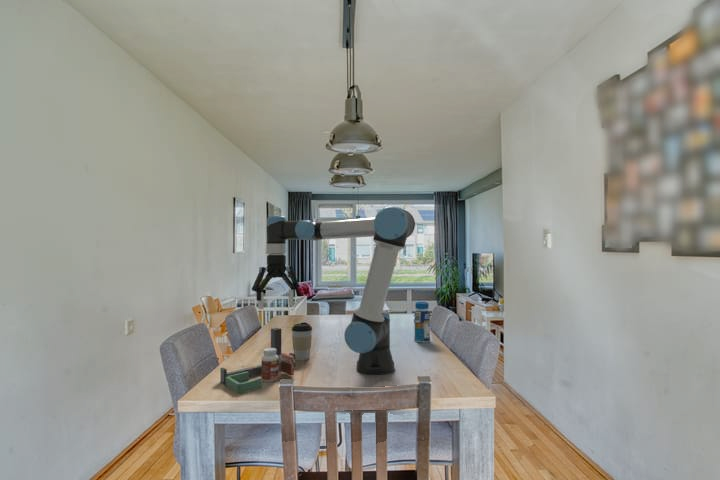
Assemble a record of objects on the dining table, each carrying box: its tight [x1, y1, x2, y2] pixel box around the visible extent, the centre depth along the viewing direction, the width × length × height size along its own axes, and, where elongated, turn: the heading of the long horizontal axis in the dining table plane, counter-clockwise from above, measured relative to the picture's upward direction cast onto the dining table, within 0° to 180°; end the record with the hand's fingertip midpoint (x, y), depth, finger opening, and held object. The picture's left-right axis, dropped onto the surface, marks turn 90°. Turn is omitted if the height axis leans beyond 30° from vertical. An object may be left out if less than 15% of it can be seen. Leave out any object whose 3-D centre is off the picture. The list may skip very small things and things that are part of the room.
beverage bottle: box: [413, 301, 431, 344], centre depth 201 cm, size 8×8×20 cm
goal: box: [224, 372, 263, 395], centre depth 136 cm, size 11×8×3 cm
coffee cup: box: [291, 322, 313, 361], centre depth 171 cm, size 9×9×15 cm
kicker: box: [270, 327, 296, 377], centre depth 151 cm, size 14×6×16 cm, turn 42°
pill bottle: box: [260, 347, 280, 383], centre depth 143 cm, size 6×6×11 cm
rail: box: [219, 352, 296, 385], centre depth 150 cm, size 3×30×5 cm, turn 132°
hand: (276, 307), depth 156 cm, fingers open, 13 cm apart
